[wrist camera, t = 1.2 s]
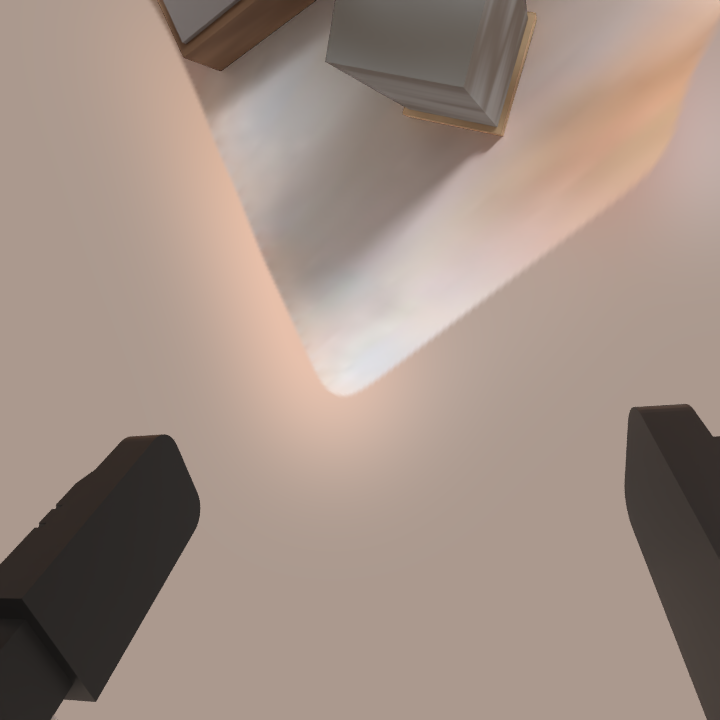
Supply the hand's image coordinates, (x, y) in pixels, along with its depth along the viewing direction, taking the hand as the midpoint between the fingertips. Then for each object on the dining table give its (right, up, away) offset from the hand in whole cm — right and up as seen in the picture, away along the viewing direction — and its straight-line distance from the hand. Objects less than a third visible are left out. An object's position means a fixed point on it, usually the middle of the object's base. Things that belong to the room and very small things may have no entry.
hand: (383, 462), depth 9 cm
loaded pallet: (+5, +18, +19) cm, 26 cm away
